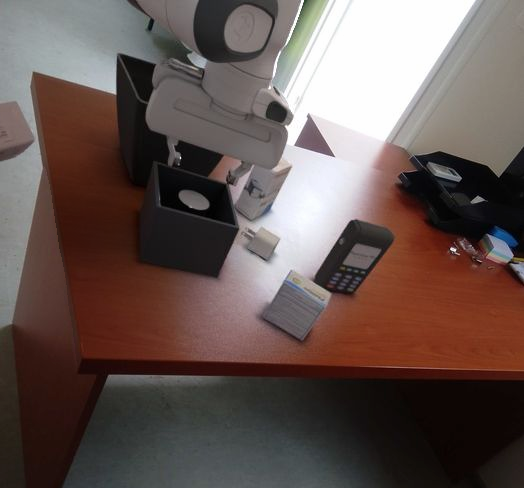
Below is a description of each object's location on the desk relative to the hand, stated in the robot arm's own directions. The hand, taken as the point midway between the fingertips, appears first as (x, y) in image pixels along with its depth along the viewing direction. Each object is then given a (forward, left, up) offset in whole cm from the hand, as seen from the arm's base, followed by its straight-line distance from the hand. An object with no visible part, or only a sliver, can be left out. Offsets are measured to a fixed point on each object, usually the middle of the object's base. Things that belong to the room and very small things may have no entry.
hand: (202, 174), depth 71 cm
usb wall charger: (+16, +5, -14) cm, 22 cm away
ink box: (+18, +19, -14) cm, 30 cm away
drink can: (0, 0, -14) cm, 14 cm away
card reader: (+32, -2, -14) cm, 35 cm away
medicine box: (+18, -15, -14) cm, 27 cm away
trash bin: (0, 0, -14) cm, 14 cm away
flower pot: (-3, +23, -14) cm, 27 cm away
